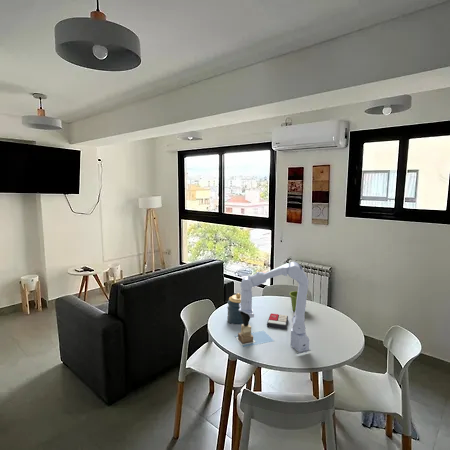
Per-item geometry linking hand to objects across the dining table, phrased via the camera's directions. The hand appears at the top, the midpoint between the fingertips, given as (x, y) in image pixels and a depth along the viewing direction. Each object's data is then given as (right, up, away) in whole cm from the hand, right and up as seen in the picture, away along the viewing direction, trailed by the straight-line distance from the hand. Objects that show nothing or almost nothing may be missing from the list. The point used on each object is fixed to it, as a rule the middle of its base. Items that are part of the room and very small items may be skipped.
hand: (245, 325), depth 158 cm
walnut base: (0, -8, +1) cm, 8 cm away
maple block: (0, -5, +1) cm, 5 cm away
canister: (-3, -6, +26) cm, 27 cm away
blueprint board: (+5, -9, +3) cm, 11 cm away
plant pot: (+38, -4, +42) cm, 57 cm away
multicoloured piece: (+21, -7, +22) cm, 31 cm away
